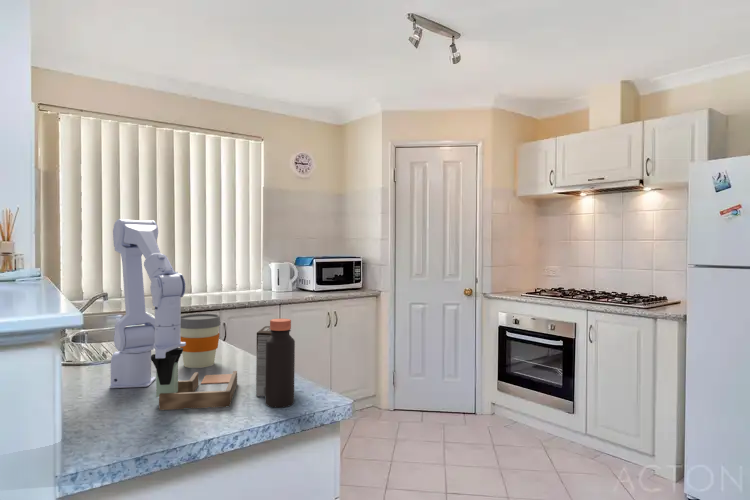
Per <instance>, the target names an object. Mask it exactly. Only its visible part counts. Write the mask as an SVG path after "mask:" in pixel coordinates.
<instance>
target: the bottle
mask: <svg viewBox="0 0 750 500" xmlns="http://www.w3.org/2000/svg"><path fill="white" fill-rule="evenodd" d="M269 326H270V332H271V336H270V337H269V338H268V339H267V341H266V386H265V396H264V397H265V398H264V399H265V405H266V406H268V407H271V408H275V409H276V408H279V409H280V408H286V407H287V408H288V407H290V406H292V405H293V404H294V402H295V368H296V367H295V366H296V365H295V362H296V361H295V359H296V358H295V357H296V356H295V347H296V346H295V345H296V344H295V343H296V341H295V339H294V338H293V337H292V336H291V335H290V332H291V331H292V330H291V329H292V320H291V318H272V319H270V320H269Z"/></svg>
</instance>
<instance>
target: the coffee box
mask: <svg viewBox="0 0 750 500" xmlns="http://www.w3.org/2000/svg"><path fill="white" fill-rule="evenodd" d="M270 336H271V332H270V325H266V326H264V327H262V328H261V329H260V330H259V331H257V332H256V357H255V358H256V362H255V363H256V365H255V367H256V371H255V373H256V374H255V375H256V378H255V381H256V382H255V386H256V387H255V394H256V395H255V396H256V397H265V386H266V341H267V339H268V338H269V337H270Z"/></svg>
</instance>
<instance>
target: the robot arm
mask: <svg viewBox="0 0 750 500" xmlns="http://www.w3.org/2000/svg"><path fill="white" fill-rule="evenodd" d="M158 237H159V227H158V224H157V222H156V221H155V220H154V219H151V220H147V219H146V220H141V219H138V220H137V219H136V220H135V219H122V218H118V219H116V220H115V222H114V224H113V228H112V241H113V247H114V251H115V252H116V253H118V254H120V256H121V265H122V277H123V278H122V279H123V294H124V305H125V308H124V309H125V315H123V316H122V317H121V318H120V319H118V320H117V321H116V323H115V324H114V335H113V344H114V347H115V349H116V350H117V351H116V350H115V351H114V352H113V354H112V355H111V359H110V360H111V361H110V386H109V389H119V388H121V389H122V388H143V387H148V388H149V386H150V385H151V384H153V382H154V381H156V376H152V363H153V365H154V367H155V371H156V370H157V374H158V378H159V382H160V385H169V384H170V382H171V378H172V372H173V366H174V363H175V362H178V363H179V361H180V358H181V355H182V352H183V348H180V347H181V346H185V345H186V342H181V316H182V315H181V314H182V313H181V312H182V311H181V310H182V309H181V307H182V304H181V303H182V302H181V300H182V298H183V296H184V295H185V293H186V279H185V278H184V277H185V276H184V275H183V274H182V273H181V272H180V273H179V272H178V271H175V270H174V269H175V268H173V266H172V264H171V262H170V259H169V258H168V256H167V255H166V254H164V253H161V250H160V249H159V245H158V243H157V242H158V241H157V239H158ZM142 257H144V258H145V260H144V262H143V260H142V259H143V258H142ZM143 267H144V269H145V271H146V274H147V276H148V278H149V279H150V295H151V297H152V300H151V301H152V306H153V307H154V317H153V316H151V315H150V314H148V313H147V312H146V301H145V286H144V276H143V275H144V274H143V273H144V272H143ZM154 350H155V354H152V351H154Z"/></svg>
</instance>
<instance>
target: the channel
mask: <svg viewBox="0 0 750 500" xmlns="http://www.w3.org/2000/svg"><path fill="white" fill-rule="evenodd" d="M231 374H232V376H231V378H230V381H229V383H227V386H226V389H225V390H212V391H211V390H210V391H196V390H197V388H198V387H199V372H198V371H197V372H196V371H195V372H194V373H193V374H192V375H191V377H190V378H189V380H186V379H185V380H178V392H177V393H160V394H159V397H158V410H159V411H167V410H168V411H169V410H170V411H171V410H184V408H191V409H206V408H208V407H211V408H227V407H226V406H229V407H231V404H232V400H233V397H234V395H235V391H236V388H237V385H238V370H233V371H232V373H231Z"/></svg>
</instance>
